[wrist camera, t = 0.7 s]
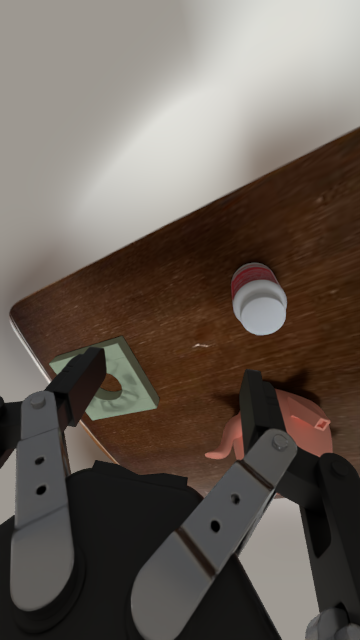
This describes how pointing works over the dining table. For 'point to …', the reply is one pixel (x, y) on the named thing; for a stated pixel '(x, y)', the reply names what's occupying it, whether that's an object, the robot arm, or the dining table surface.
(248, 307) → the pill bottle
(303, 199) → the dining table surface
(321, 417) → the teapot
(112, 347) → the socket pad
